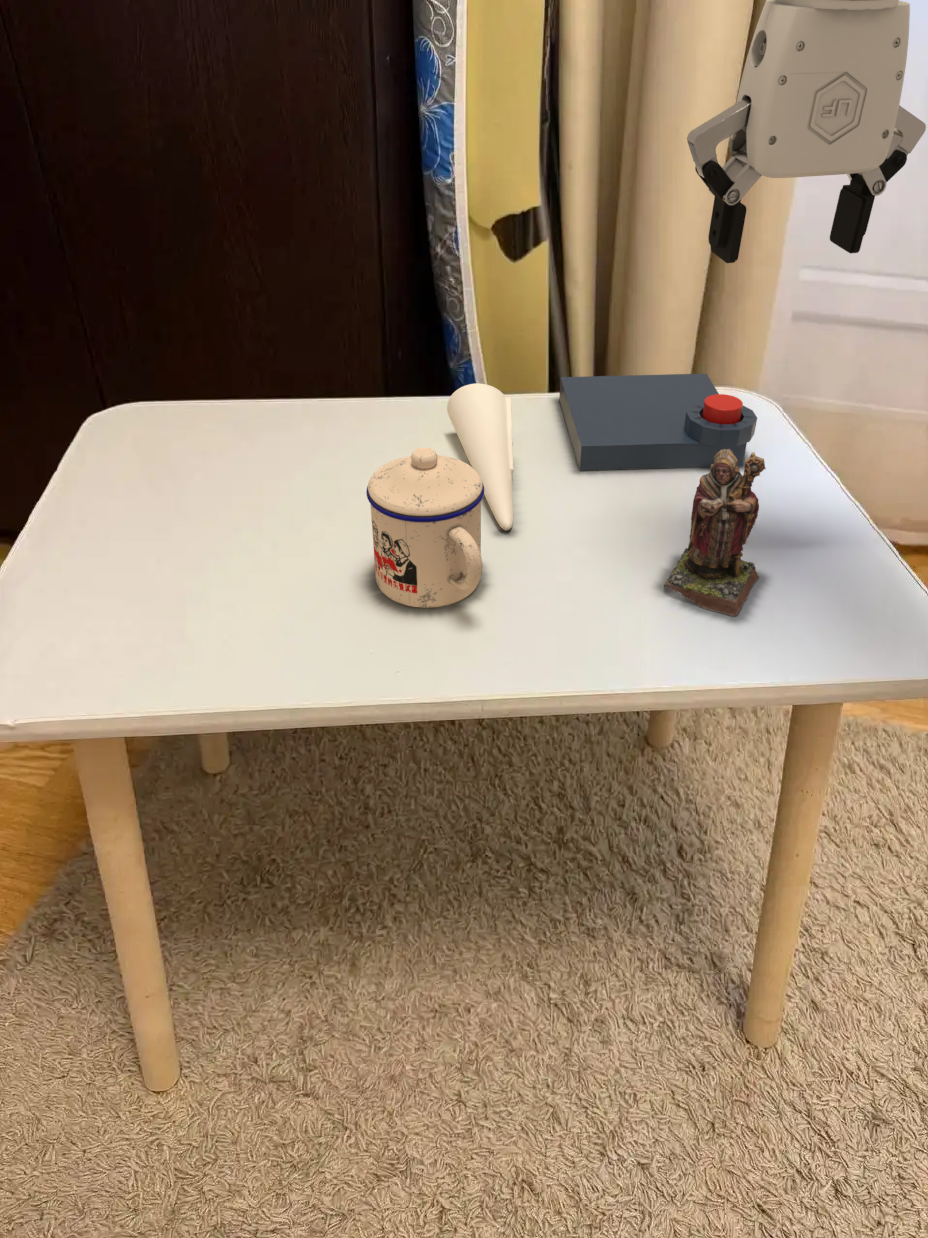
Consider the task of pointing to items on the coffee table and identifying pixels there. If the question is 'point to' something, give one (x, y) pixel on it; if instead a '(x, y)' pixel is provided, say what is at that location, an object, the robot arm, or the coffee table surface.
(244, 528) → the coffee table surface
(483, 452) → the long cone
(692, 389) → the button box
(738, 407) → the button
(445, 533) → the teacup with lid
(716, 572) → the figurine
